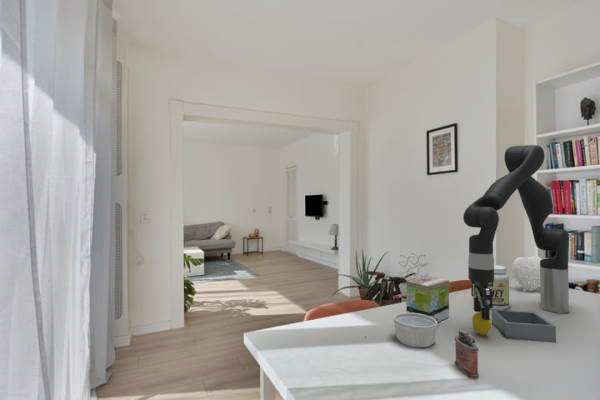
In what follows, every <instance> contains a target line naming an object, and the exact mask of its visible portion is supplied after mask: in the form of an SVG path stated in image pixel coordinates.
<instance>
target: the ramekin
mask: <svg viewBox="0 0 600 400" xmlns="http://www.w3.org/2000/svg"><path fill="white" fill-rule="evenodd" d="M393 323H394V329H395V330H394V332H395V336H396V337H395V338H396V339H398V342H400V344H401V343H402V344H403V345H406V346H409V347H412V348H419V349H420V348H428V347H430V346H433V344H434V343H435V340H436V334H437V328H438V322H437V321H436V320H435V319H434V318H432V317H430V316H427V315H423V314H418V313H406V312H400V313H397V314H395V315H394V316H393Z"/></svg>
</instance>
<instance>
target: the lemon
mask: <svg viewBox="0 0 600 400" xmlns="http://www.w3.org/2000/svg"><path fill="white" fill-rule="evenodd" d="M471 321H472V323H471V324H472V328H473V330H474V331H475V332H476V333H478V334H479V335H481V336H484V335H486V334H488V333H490V331H491V330H492V319H490V320H483V319H482V318H481V311H480V312H476V313H475V314H473V317H472V320H471Z"/></svg>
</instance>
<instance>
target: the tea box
mask: <svg viewBox="0 0 600 400" xmlns="http://www.w3.org/2000/svg"><path fill="white" fill-rule="evenodd" d="M405 313H418V314H423V315H427V316H430V317H432V318H434V319H435V320H436V321H437V323H439V322H441V321H444V320H446V319H448V318H450V279H445V278H444V279H443V278H439V277H434V276H433V277H432V276H422V277H418V278H415V279H412V280H408V281H406V311H405Z"/></svg>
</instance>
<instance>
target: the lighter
mask: <svg viewBox="0 0 600 400" xmlns="http://www.w3.org/2000/svg"><path fill="white" fill-rule="evenodd" d="M454 342H455V344H454V345H455V360H454V365H455V367H456V369H457V370H459V371H460V372H461V373H462V374H463V375H465V376H467V377H468V378H470V379H479V377H480V374H479V371H478V370H479V368H478V367H479V365H478V364H479V361H478V360H479V359H478V357H479V355H478V352H479V346H478V345H477V344H475V343H476V338H475V337H474V336H473V335H471V334H470V332H469V331H465V330H463V329H458V335H455V336H454Z"/></svg>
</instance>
